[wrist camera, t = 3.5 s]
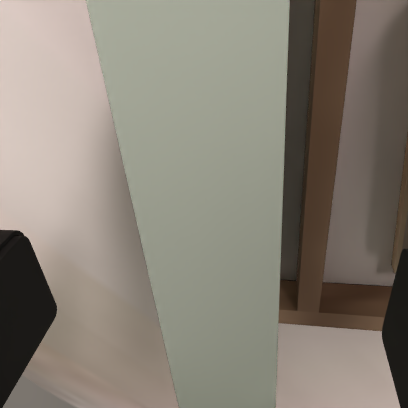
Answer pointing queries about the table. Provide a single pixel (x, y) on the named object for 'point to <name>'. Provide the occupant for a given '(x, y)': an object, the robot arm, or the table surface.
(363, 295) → the rack
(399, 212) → the offcut stack
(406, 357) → the robot arm
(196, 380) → the pale green rectangular block
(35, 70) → the table surface
